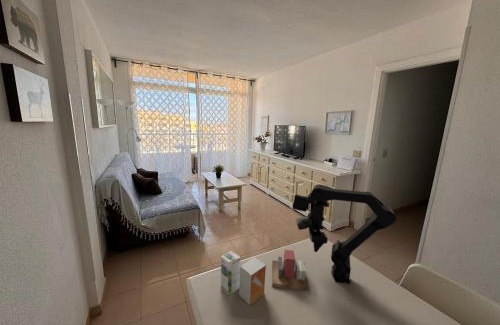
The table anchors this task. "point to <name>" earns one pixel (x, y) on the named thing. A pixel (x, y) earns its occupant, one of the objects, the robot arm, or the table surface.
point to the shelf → (286, 279)
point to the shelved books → (299, 269)
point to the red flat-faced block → (289, 263)
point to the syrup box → (230, 272)
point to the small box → (252, 280)
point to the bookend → (280, 267)
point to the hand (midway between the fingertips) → (313, 245)
